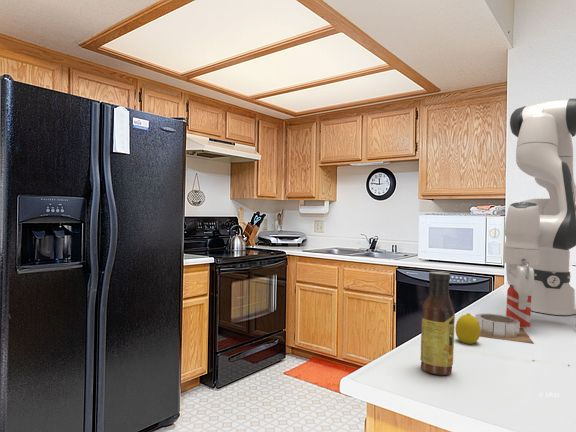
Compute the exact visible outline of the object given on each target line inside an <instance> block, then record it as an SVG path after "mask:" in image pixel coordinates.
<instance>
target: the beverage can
mask: <svg viewBox="0 0 576 432" xmlns="http://www.w3.org/2000/svg"><path fill="white" fill-rule="evenodd" d="M531 297H532V296H528V300H527V303H526V309H525V310H522V309H519V308H518V301H519V296H518V293H517V292H516V291H515V290H514V286H512V285H509V287H508V288H507V291H506V311H505V312H506V313H505V316H509V317H512V318H515V319H517V320H519V322H520V328H529V327H531V318H532V317H531V316H532V315H531V314H532V313H531Z"/></svg>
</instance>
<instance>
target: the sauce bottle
mask: <svg viewBox="0 0 576 432" xmlns="http://www.w3.org/2000/svg"><path fill="white" fill-rule="evenodd" d="M428 280H429V289H428V293H429V295H428V296H427V297H426V299H425V300H424V302H423V304H422V317H421V335H420V336H421V337H420V339H421V340H420V361H421V362H420V368H421V369H422V371H424V372H425V373H429V374H432V375H437V376H438V375H440V376H445V375H450V374H451V373H452V371H453V364H454V347H455V346H454V343H455V320H456V319H455V318H456V317H455V314H456V313H455V312H456V311H455V309H454V307H453V303H452V300H451V297H450V291H449V289H450V282H451V281H450V280H451V273H449V272H443V271H429V273H428Z"/></svg>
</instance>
